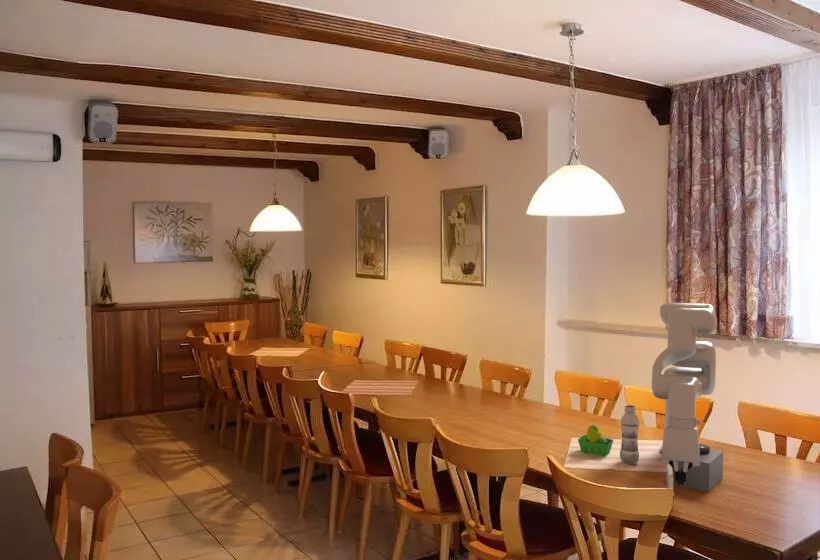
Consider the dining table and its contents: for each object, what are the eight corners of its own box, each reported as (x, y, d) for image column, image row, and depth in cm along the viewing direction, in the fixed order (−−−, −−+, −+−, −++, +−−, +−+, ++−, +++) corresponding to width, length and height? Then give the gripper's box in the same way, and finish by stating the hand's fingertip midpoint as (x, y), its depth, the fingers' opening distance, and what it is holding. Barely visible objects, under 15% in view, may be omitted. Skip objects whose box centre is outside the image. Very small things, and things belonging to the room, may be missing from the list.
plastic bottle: (635, 459, 247) (635, 404, 246) (641, 465, 241) (642, 408, 239) (617, 459, 247) (617, 404, 246) (623, 466, 240) (624, 408, 239)
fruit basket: (614, 453, 255) (614, 422, 255) (606, 459, 248) (606, 428, 247) (584, 448, 262) (584, 418, 261) (575, 454, 254) (575, 423, 254)
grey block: (684, 470, 235) (685, 439, 235) (722, 478, 228) (723, 446, 227) (669, 483, 223) (670, 451, 222) (708, 492, 215) (709, 458, 215)
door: (670, 483, 222) (671, 458, 221) (672, 503, 205) (673, 477, 204) (664, 483, 222) (664, 458, 222) (666, 503, 205) (666, 476, 205)
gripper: (707, 421, 207) (706, 482, 208) (654, 417, 212) (653, 476, 213) (709, 427, 200) (708, 490, 201) (654, 423, 204) (653, 485, 205)
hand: (680, 483), depth 207 cm, fingers closed
